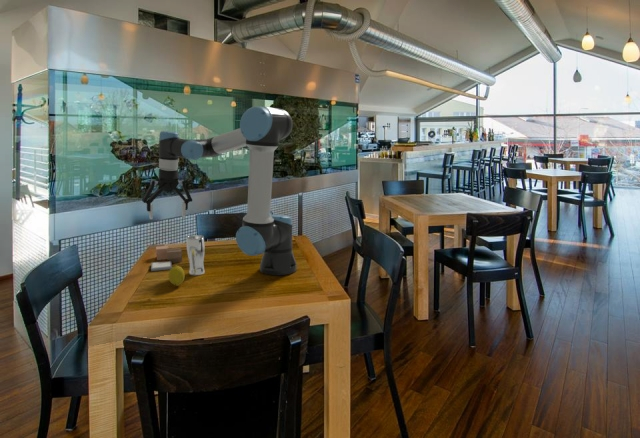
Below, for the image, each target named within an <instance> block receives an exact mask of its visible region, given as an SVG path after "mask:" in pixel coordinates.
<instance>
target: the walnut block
mask: <svg viewBox="0 0 640 438" xmlns="http://www.w3.org/2000/svg"><path fill="white" fill-rule="evenodd" d="M166 260H167V261H171V264H174V263H183V251H182V247H174V248H168V249H167V259H166Z"/></svg>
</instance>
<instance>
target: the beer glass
mask: <svg viewBox="0 0 640 438" xmlns="http://www.w3.org/2000/svg"><path fill="white" fill-rule="evenodd" d="M205 249H206V248H205V237H204V235H200V234H195V235H194V234H193V235H188V236H186V253H187V258H188V262H189V271H188V274H189V275H190V276H200V275H204V274H205V273H206V272H205V271H206V270H205V265H204V262H205V261H204V259H205V251H206V250H205Z"/></svg>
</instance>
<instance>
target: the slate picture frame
mask: <svg viewBox="0 0 640 438" xmlns="http://www.w3.org/2000/svg"><path fill="white" fill-rule="evenodd" d="M150 264H151V266H150V272H156V271H157V272H158V271H166V270H167V271H168V270H169V271H170V269H171V268H172V267H173V266H172V264H173V263H171V261H168V260H167V261H165V260H164V261H156V262H155V261H154V262H151V263H150Z"/></svg>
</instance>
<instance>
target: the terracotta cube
mask: <svg viewBox="0 0 640 438" xmlns="http://www.w3.org/2000/svg"><path fill="white" fill-rule="evenodd" d="M167 249H169V246H168V245H162V246H156V247H155V252H156V253H155V254H156V260H157V261H165V260H168V259H167Z"/></svg>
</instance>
